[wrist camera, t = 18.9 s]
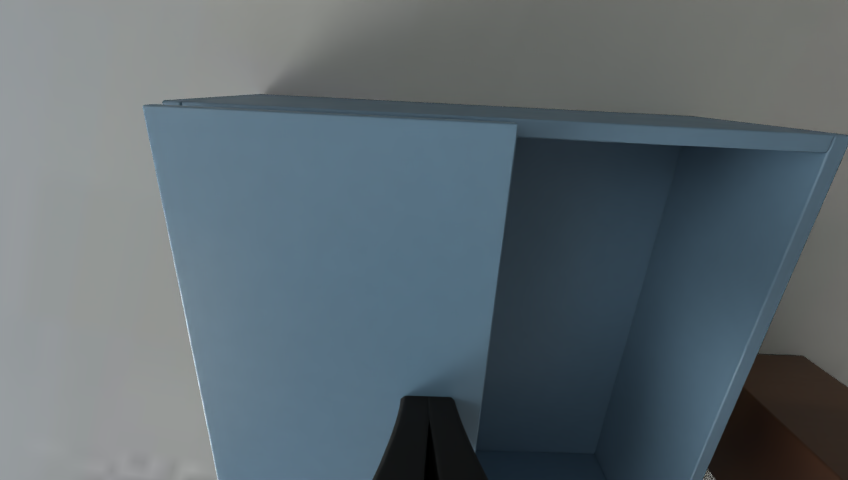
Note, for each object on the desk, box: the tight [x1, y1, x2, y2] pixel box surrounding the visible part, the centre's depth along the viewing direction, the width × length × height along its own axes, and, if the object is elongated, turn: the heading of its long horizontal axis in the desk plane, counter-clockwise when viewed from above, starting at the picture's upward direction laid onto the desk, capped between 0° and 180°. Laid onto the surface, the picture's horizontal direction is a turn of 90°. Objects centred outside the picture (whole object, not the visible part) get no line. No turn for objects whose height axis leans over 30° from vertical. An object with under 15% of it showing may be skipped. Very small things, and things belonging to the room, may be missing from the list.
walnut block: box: [708, 354, 848, 480], centre depth 15 cm, size 4×4×6 cm
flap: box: [143, 104, 518, 480], centre depth 11 cm, size 16×7×1 cm, turn 177°
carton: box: [162, 94, 848, 480], centre depth 14 cm, size 16×15×5 cm
